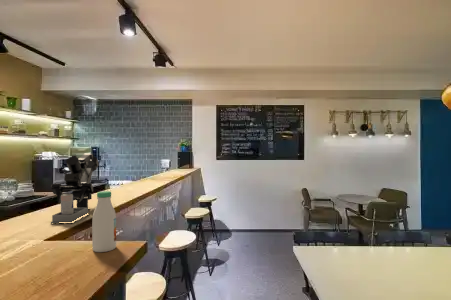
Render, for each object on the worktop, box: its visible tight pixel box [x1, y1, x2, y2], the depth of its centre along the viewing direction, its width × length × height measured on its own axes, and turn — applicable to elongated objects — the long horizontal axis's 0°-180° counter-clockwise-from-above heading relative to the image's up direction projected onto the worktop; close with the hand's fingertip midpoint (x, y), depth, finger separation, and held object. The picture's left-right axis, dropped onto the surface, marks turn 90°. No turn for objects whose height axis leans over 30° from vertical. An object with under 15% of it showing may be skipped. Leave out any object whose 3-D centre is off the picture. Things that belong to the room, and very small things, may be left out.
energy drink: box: [60, 193, 74, 215], centre depth 138 cm, size 5×5×12 cm
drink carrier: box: [50, 207, 89, 224], centre depth 142 cm, size 18×10×4 cm, turn 1°
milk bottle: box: [91, 190, 117, 253], centre depth 100 cm, size 8×8×20 cm
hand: (68, 202), depth 140 cm, fingers open, 9 cm apart
